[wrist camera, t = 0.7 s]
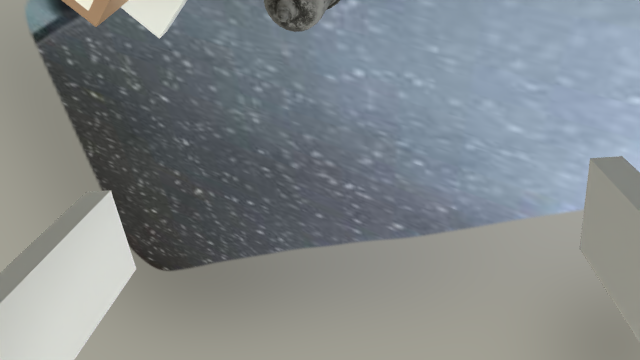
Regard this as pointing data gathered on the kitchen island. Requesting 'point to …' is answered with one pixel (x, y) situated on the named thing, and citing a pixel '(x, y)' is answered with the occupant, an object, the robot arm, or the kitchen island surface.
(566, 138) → the kitchen island surface
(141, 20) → the build board
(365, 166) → the kitchen island surface
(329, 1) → the salt shaker
